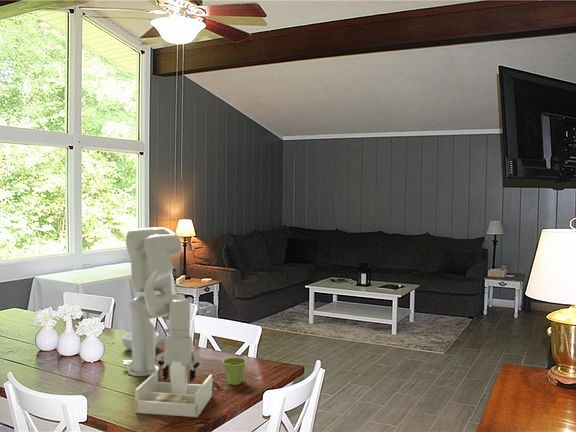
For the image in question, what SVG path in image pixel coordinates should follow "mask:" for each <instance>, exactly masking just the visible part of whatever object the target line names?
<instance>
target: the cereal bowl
mask: <svg viewBox="0 0 576 432" xmlns="http://www.w3.org/2000/svg"><path fill="white" fill-rule="evenodd" d="M159 340H160V333H158V331H155V346H156V345H158V342H159ZM121 341H122V345H123V346H124V347H125V348H126V349H127V350H130V351H132V331H130V332H127V333H124V334H123V335H122V337H121Z"/></svg>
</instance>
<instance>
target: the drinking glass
mask: <svg viewBox="0 0 576 432" xmlns="http://www.w3.org/2000/svg"><path fill="white" fill-rule="evenodd" d="M189 369H190V367H189V366H182V365H181V362H174V361H173V362H172V365H169V379H170V382H169V383H171V393H176V394H186V391H187V384H188V379H189V377H188V376H189Z"/></svg>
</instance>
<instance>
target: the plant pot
mask: <svg viewBox="0 0 576 432" xmlns="http://www.w3.org/2000/svg"><path fill="white" fill-rule="evenodd" d="M246 363H247V360H246V358H242V357H228V358H225V359H223V360H222V364H223V367H224V369H225V370H224V371H225V378H226V380H225V381H226V384H228V385H232V386H237V385H241V383H243V381H244V380H243V379H244V371H245V366H246Z"/></svg>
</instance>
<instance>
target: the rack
mask: <svg viewBox="0 0 576 432" xmlns="http://www.w3.org/2000/svg"><path fill="white" fill-rule="evenodd" d="M207 376H208V377H206V379H205V380H204V381H203V382H202V384H199V383H198V384H197V383H187V391H186V394H176V393H171V382H165V381H159V371H155V372H154V373H153V374H152V375H149V376H148V377H147V378H146V379H145V380H144V381H142V383H141V384H140V385H138V386H137V387H136V388H135V389H134V392H135V393H134V413H135V414H137V413H138V414H148V415H149V414H150V415H162V416H174V417H175V416H176V417H177V416H179V417H190V418H191V417H192V418H198V417H199V415H200V414H201V413H202V412H203V410H204V408H205V407H206V405H207V404H208V403H209V401H210V400H211V398H212V397H213V374H209V375H207ZM160 393H162V394H176V395H182V399H184V400H188V404H187V403H172V402H157V401H155V399H156V397H157V396H158V395H159V394H160Z"/></svg>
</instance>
